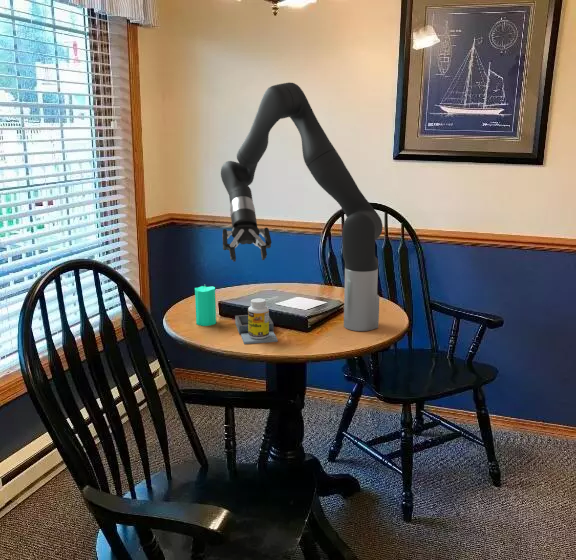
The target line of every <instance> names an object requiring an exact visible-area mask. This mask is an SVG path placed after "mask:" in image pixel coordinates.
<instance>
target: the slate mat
mask: <svg viewBox="0 0 576 560" xmlns="http://www.w3.org/2000/svg"><path fill="white" fill-rule="evenodd" d="M240 337H241V340H242V342H243V344H244V345H249V344H263V343H265V344H266V343H277V342H278V337H277V335H276V334H275V332H269V336H268V337H266V338H264V339H253V338H251V337H250V336H249V333H246V334H240Z"/></svg>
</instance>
